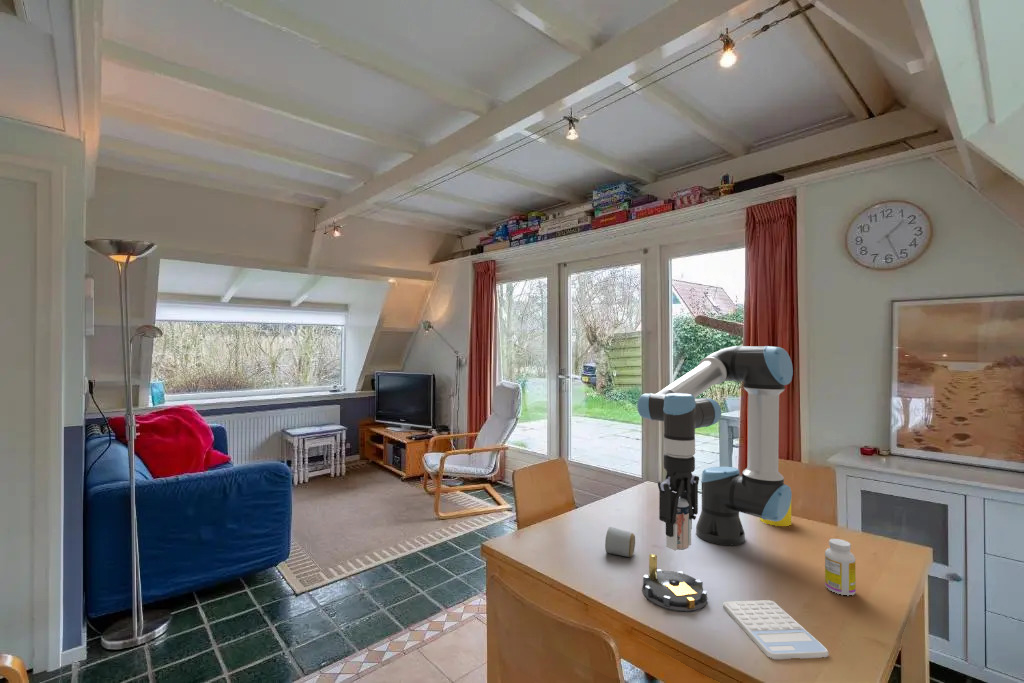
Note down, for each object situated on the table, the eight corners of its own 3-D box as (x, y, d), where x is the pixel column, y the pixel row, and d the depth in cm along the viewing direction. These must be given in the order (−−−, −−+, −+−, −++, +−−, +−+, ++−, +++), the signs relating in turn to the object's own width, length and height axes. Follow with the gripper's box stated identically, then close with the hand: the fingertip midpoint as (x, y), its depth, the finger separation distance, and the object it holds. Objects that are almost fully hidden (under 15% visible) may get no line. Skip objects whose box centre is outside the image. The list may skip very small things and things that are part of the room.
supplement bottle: (850, 586, 126) (850, 538, 126) (859, 599, 120) (859, 549, 120) (821, 582, 128) (821, 535, 128) (829, 594, 122) (829, 545, 122)
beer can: (664, 544, 120) (665, 498, 120) (678, 541, 122) (679, 495, 122) (678, 552, 116) (678, 504, 116) (693, 548, 118) (693, 501, 118)
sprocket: (652, 570, 133) (652, 542, 133) (711, 586, 124) (711, 556, 124) (635, 596, 119) (635, 565, 119) (700, 616, 111) (700, 582, 111)
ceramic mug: (631, 561, 140) (631, 536, 140) (604, 556, 143) (604, 531, 143) (637, 548, 149) (637, 524, 149) (612, 543, 153) (612, 520, 153)
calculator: (772, 605, 117) (772, 598, 117) (831, 659, 98) (831, 650, 98) (721, 607, 117) (721, 600, 117) (770, 662, 97) (770, 653, 97)
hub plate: (690, 578, 130) (690, 576, 130) (719, 611, 114) (719, 609, 114) (634, 579, 129) (634, 577, 129) (654, 612, 113) (654, 610, 113)
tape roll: (758, 522, 170) (758, 497, 170) (761, 514, 178) (761, 490, 178) (790, 529, 164) (790, 502, 164) (792, 520, 173) (792, 495, 173)
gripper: (688, 447, 127) (688, 533, 127) (643, 455, 117) (643, 548, 117) (713, 453, 120) (713, 543, 120) (668, 462, 111) (667, 560, 111)
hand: (678, 545), depth 119 cm, fingers closed on beer can, 5 cm apart
